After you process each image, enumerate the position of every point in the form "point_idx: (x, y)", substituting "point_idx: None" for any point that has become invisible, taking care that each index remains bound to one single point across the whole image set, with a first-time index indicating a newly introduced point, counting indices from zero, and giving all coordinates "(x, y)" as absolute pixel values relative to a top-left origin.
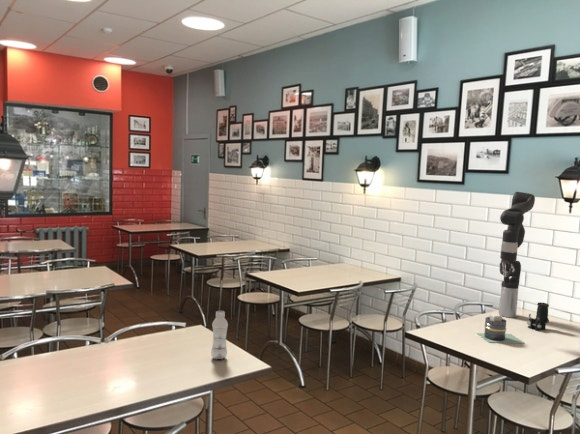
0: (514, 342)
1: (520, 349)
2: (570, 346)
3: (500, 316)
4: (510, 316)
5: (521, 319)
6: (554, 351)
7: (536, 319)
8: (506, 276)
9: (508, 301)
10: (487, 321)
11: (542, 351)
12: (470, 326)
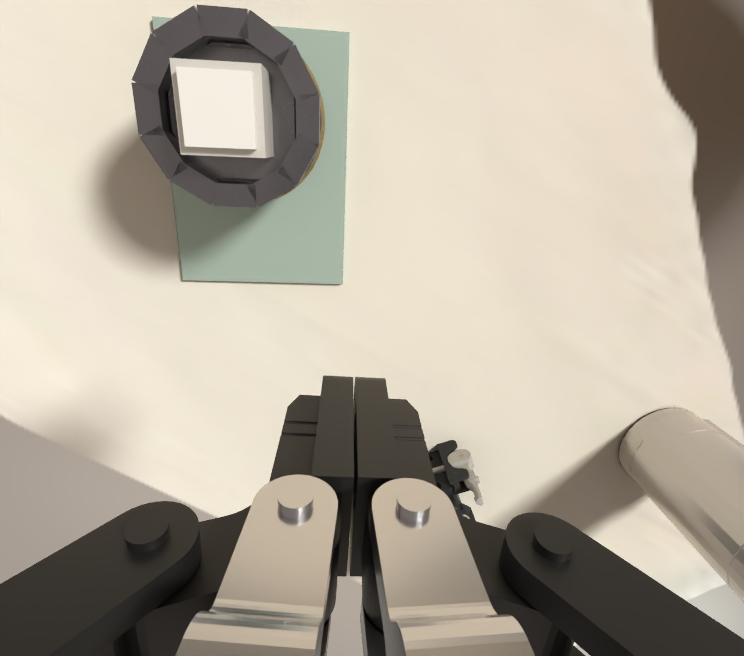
0: (175, 215)
1: (58, 187)
2: (175, 483)
3: (185, 139)
4: (626, 442)
5: (585, 477)
6: (74, 370)
7: None
8: (264, 507)
9: (701, 491)
10: (205, 9)
11: (56, 305)
12: (514, 82)
